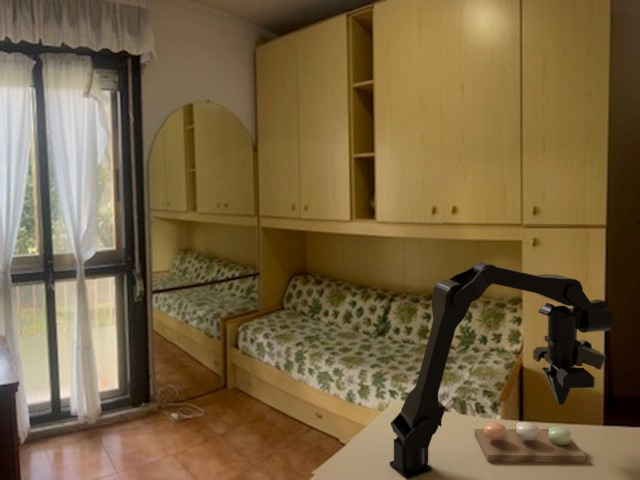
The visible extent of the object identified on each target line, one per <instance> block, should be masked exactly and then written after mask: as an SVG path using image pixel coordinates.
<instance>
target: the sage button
mask: <svg viewBox="0 0 640 480" xmlns="http://www.w3.org/2000/svg"><path fill="white" fill-rule="evenodd" d="M548 429H549V440H550V441H551V442H553V443H555V444H559V445H567V444H570V441H571V440H572V438H571V435H572V433H571V431H570V430H569V429H567V428H565V427H561V426H551V427H549V428H548Z"/></svg>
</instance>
